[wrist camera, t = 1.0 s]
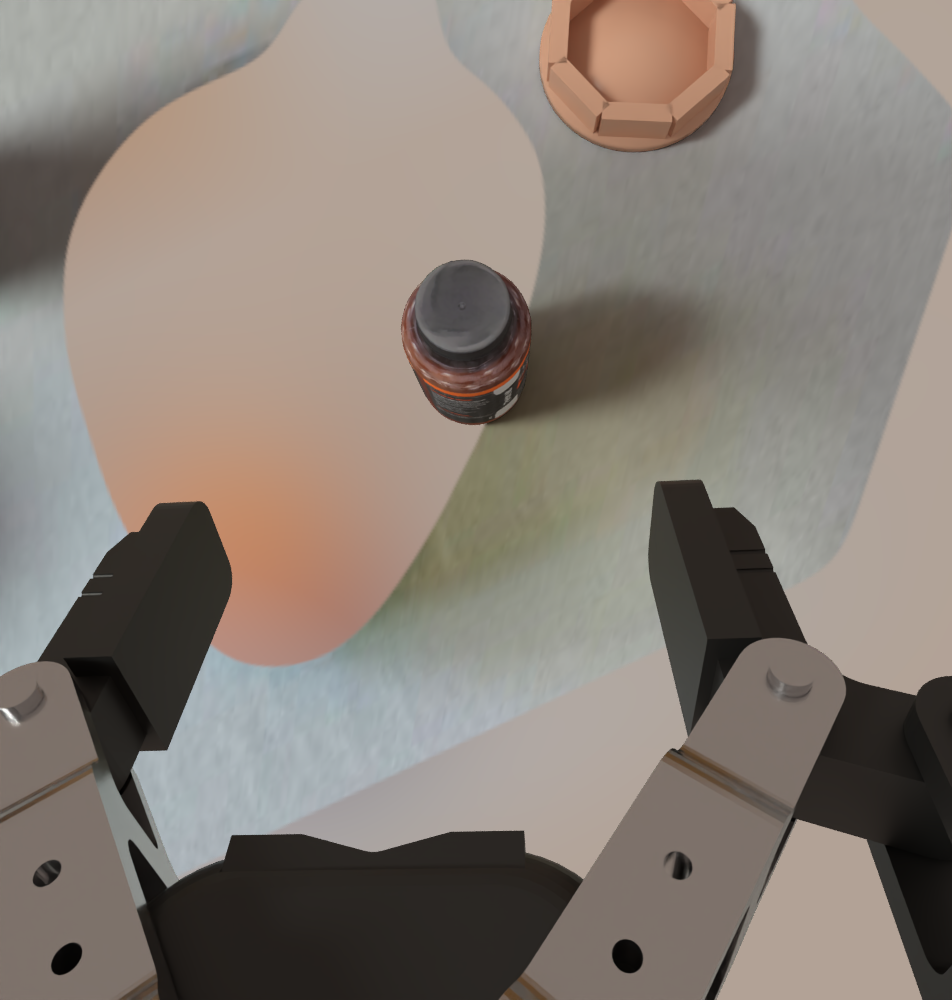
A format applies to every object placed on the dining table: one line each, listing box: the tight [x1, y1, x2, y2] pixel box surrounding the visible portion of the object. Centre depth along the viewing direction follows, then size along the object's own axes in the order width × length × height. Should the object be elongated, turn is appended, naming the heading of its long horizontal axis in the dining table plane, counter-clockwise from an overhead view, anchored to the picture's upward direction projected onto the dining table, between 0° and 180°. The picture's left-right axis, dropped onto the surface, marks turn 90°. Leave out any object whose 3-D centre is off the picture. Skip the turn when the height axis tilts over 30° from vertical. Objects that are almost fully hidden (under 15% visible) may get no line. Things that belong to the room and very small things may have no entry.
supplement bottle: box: [401, 260, 531, 425], centre depth 35 cm, size 6×6×11 cm
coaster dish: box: [539, 0, 736, 152], centre depth 40 cm, size 11×11×2 cm
